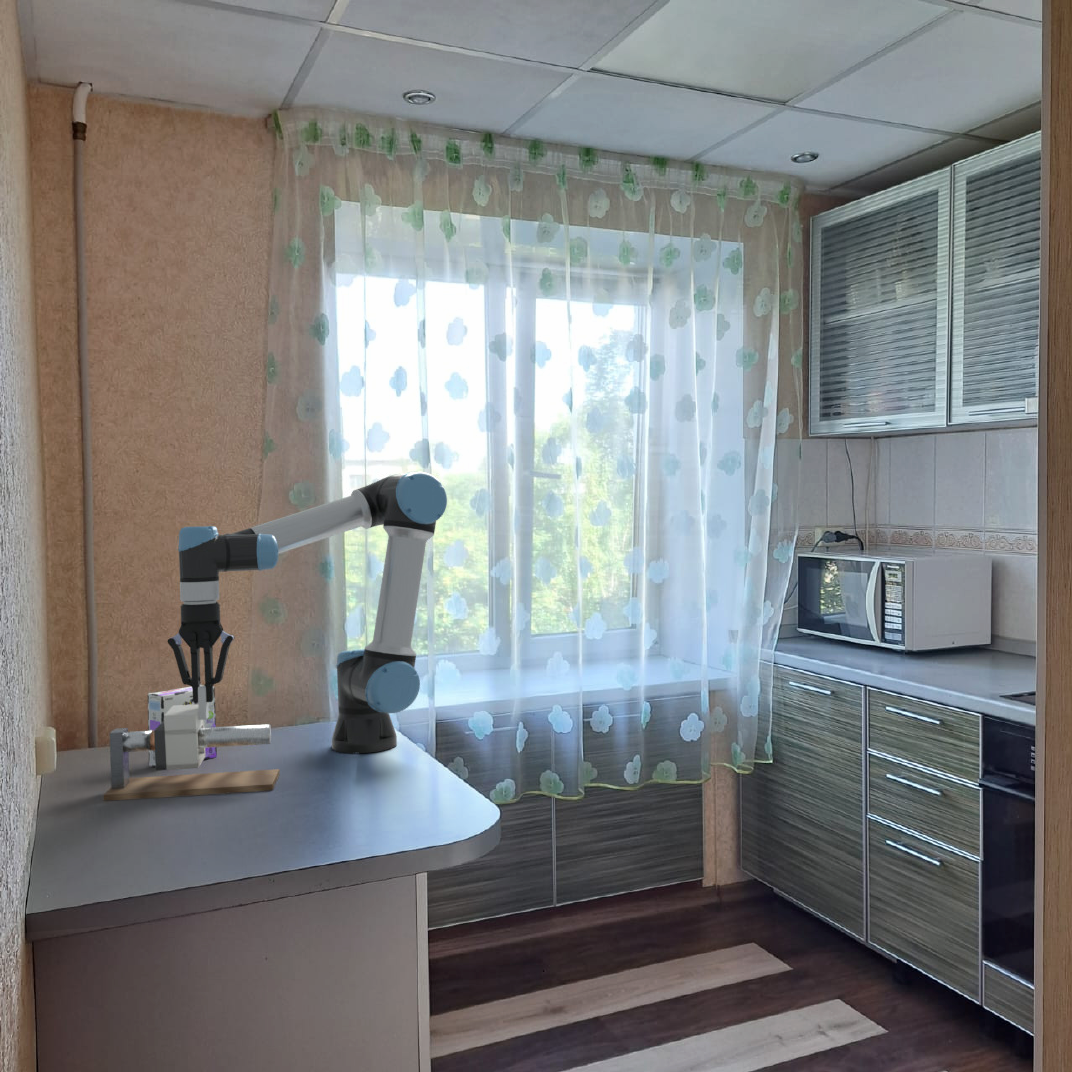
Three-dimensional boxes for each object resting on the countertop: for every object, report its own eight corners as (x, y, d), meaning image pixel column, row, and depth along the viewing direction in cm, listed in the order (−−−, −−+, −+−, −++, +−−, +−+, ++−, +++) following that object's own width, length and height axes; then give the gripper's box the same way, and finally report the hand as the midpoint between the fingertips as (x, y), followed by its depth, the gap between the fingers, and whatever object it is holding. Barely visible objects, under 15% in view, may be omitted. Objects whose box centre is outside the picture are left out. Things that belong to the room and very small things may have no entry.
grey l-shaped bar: (272, 774, 202) (270, 720, 202) (269, 779, 198) (268, 724, 198) (117, 783, 197) (115, 728, 197) (111, 789, 193) (109, 732, 193)
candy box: (163, 770, 212) (160, 695, 212) (148, 766, 216) (145, 692, 215) (218, 757, 223) (215, 685, 223) (202, 753, 227) (200, 683, 226)
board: (279, 774, 206) (279, 769, 206) (272, 790, 194) (272, 784, 194) (120, 784, 201) (120, 778, 201) (103, 800, 189) (103, 794, 189)
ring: (175, 758, 201) (173, 720, 200) (166, 769, 193) (164, 730, 193) (165, 759, 201) (163, 720, 200) (155, 770, 193) (154, 730, 192)
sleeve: (205, 756, 202) (203, 704, 201) (197, 768, 194) (195, 714, 193) (175, 757, 201) (173, 705, 200) (166, 770, 193) (164, 715, 192)
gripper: (236, 599, 202) (239, 713, 202) (170, 602, 200) (174, 716, 200) (230, 602, 194) (233, 720, 195) (162, 605, 193) (166, 723, 193)
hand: (203, 718), depth 198 cm, fingers closed
